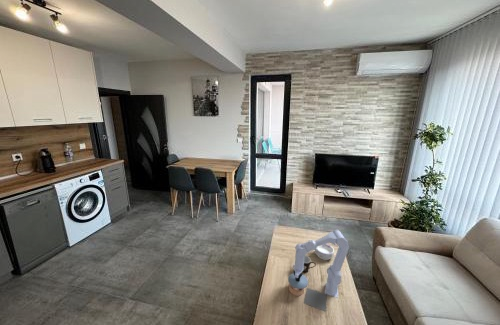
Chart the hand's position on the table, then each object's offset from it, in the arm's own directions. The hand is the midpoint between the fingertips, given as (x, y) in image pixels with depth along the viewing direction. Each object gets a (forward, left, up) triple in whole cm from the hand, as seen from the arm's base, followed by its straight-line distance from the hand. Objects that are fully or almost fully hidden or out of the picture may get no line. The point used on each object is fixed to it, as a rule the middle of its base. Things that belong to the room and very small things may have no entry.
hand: (297, 279), depth 136 cm
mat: (+2, +13, -9) cm, 16 cm away
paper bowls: (-44, +14, -9) cm, 47 cm away
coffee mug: (-20, +3, -9) cm, 22 cm away
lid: (0, 0, -1) cm, 1 cm away
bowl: (0, 0, -9) cm, 9 cm away
